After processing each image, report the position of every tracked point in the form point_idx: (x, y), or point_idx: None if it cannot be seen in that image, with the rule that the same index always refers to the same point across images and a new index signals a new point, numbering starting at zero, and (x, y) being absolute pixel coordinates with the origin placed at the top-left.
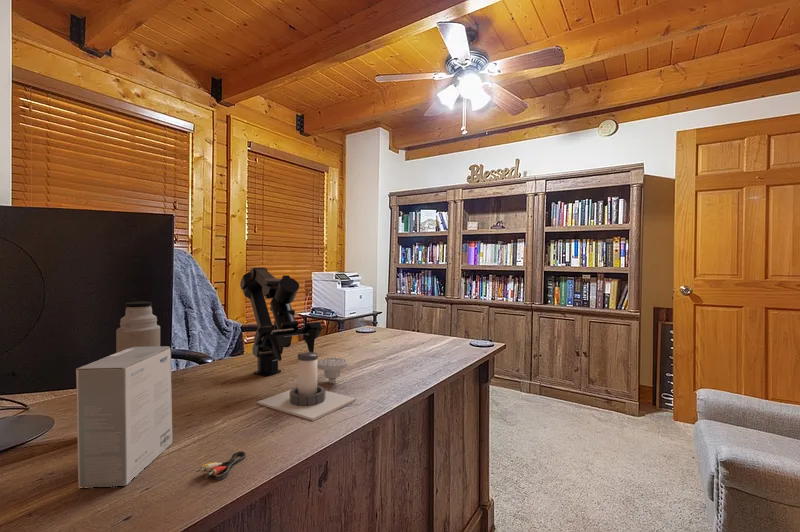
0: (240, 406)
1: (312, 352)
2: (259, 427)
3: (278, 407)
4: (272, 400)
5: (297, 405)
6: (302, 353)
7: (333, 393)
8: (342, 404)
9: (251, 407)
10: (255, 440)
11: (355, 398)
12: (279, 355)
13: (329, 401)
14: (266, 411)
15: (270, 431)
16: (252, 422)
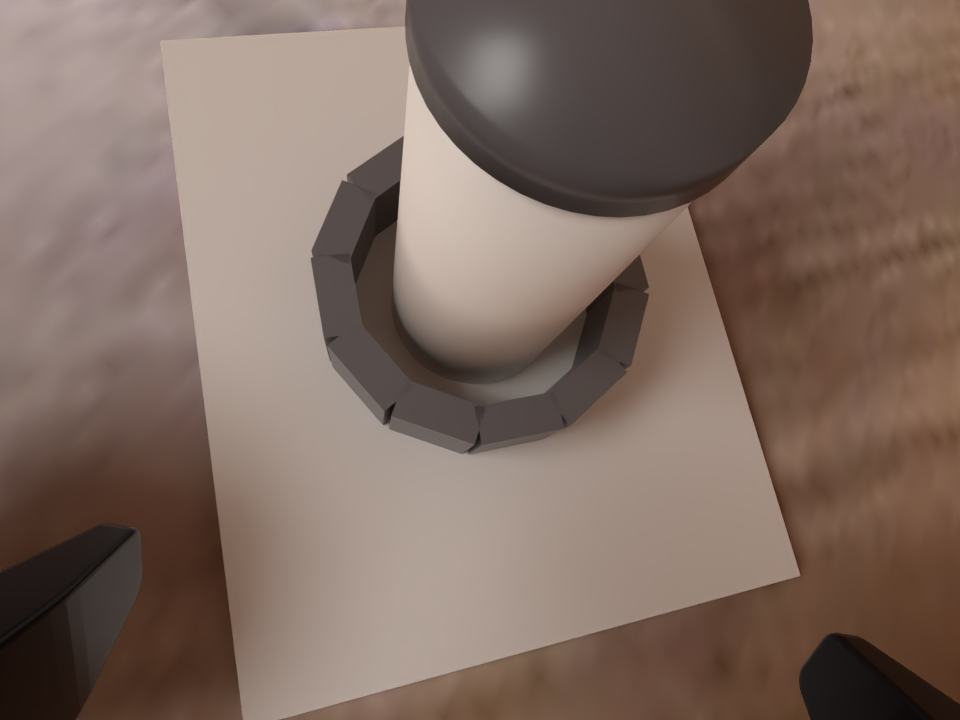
0: (904, 617)
1: (448, 39)
2: (890, 181)
3: (719, 329)
4: (698, 505)
5: None
6: (663, 128)
7: (208, 264)
8: (338, 33)
9: (844, 531)
10: (943, 69)
11: (170, 42)
12: (923, 684)
13: (367, 147)
14: (783, 372)
15: (857, 96)
16: (904, 272)
